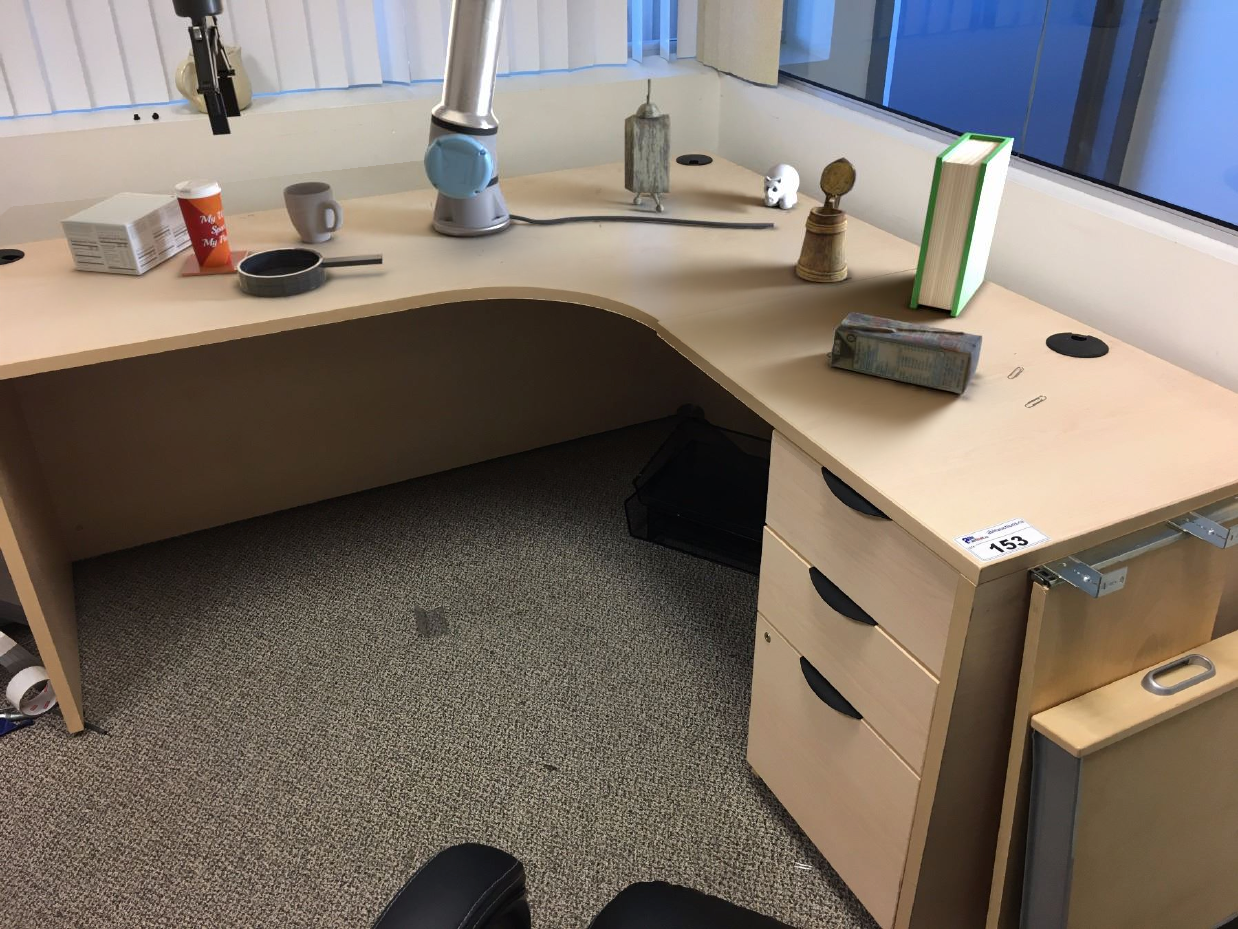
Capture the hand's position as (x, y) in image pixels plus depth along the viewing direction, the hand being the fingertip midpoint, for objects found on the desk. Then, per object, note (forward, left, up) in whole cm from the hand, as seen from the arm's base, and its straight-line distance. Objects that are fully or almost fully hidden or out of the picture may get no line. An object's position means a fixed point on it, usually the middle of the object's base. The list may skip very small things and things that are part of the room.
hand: (227, 125), depth 162 cm
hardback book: (-117, +43, -23) cm, 127 cm away
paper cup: (+6, +4, -23) cm, 24 cm away
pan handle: (-19, +15, -21) cm, 32 cm away
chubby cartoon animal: (-104, -7, -23) cm, 106 cm away
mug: (-12, -6, -23) cm, 27 cm away
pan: (-7, +15, -23) cm, 28 cm away
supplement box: (+21, -3, -23) cm, 32 cm away
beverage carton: (-97, +68, -23) cm, 121 cm away
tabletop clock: (-78, -15, -23) cm, 82 cm away
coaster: (+6, +4, -23) cm, 24 cm away
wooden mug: (-101, +28, -23) cm, 107 cm away
